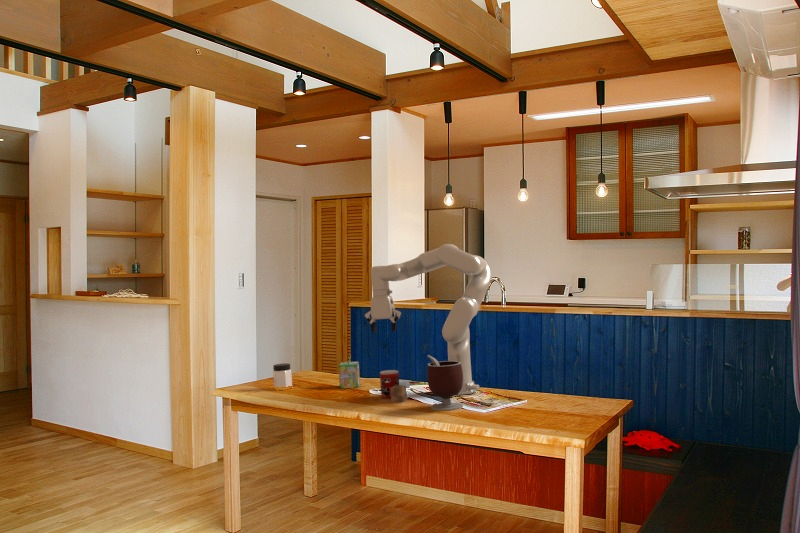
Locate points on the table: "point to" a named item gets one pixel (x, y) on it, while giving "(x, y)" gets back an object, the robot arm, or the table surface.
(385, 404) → the table surface
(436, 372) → the mate gourd
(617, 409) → the table surface
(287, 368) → the jar
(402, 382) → the slate block
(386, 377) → the canned food
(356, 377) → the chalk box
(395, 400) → the walnut block
